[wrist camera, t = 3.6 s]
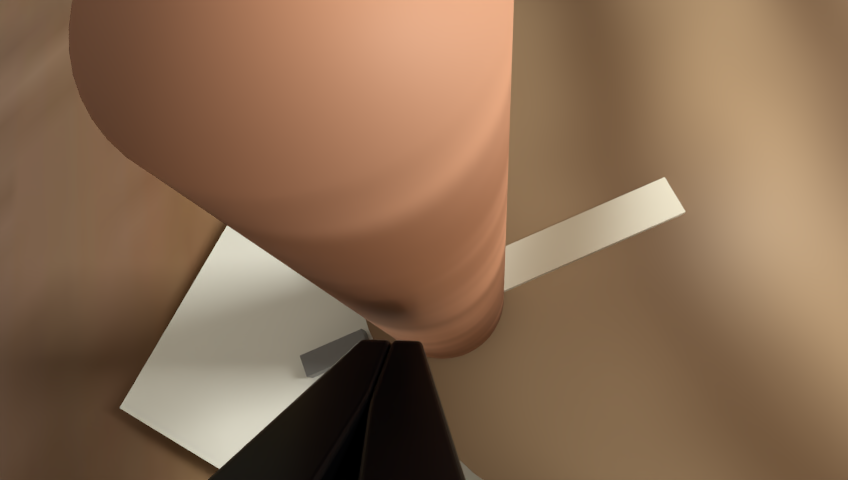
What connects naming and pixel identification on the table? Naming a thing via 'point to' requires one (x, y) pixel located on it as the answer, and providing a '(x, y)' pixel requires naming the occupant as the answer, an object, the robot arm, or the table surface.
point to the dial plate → (241, 351)
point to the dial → (532, 205)
